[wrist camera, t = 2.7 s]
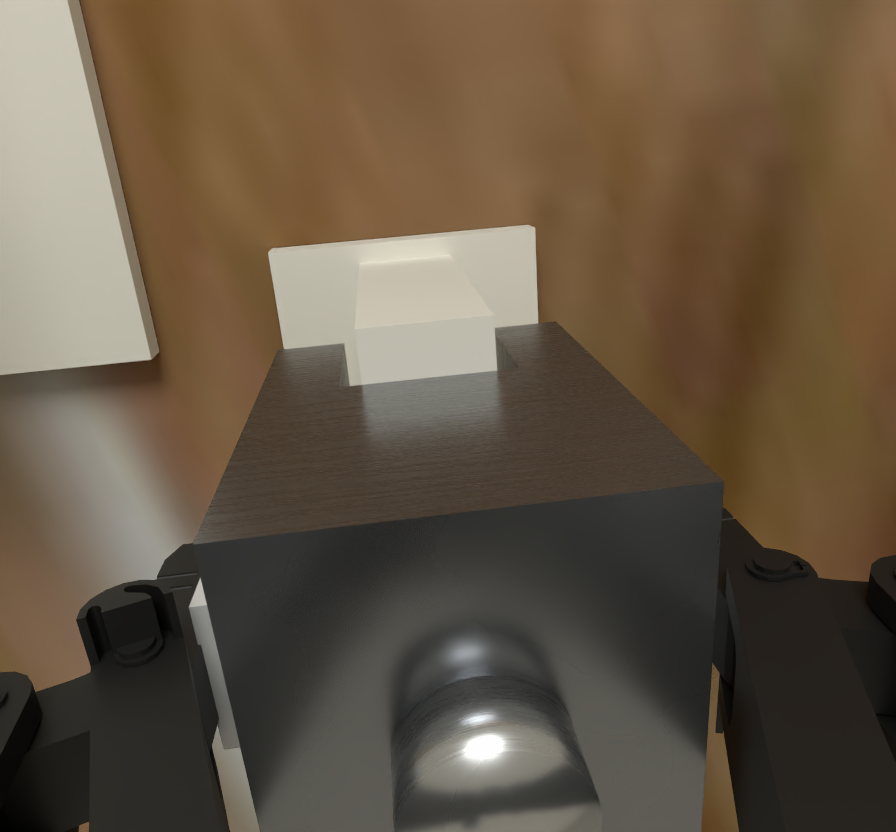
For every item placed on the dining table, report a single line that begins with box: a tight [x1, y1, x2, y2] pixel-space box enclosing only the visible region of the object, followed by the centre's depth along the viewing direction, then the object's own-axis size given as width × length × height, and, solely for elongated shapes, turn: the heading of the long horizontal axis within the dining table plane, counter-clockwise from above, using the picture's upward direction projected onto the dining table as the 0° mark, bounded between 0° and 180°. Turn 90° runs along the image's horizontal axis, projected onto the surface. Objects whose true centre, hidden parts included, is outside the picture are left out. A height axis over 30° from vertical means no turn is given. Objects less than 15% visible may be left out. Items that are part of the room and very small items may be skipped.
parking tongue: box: [268, 225, 538, 386], centre depth 18 cm, size 7×10×8 cm
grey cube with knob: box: [193, 322, 724, 832], centre depth 13 cm, size 6×7×9 cm
